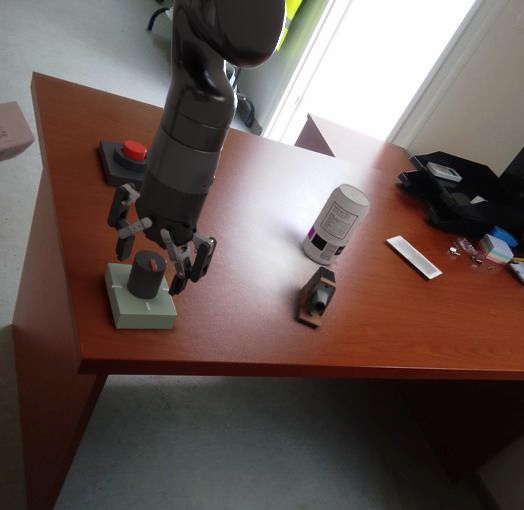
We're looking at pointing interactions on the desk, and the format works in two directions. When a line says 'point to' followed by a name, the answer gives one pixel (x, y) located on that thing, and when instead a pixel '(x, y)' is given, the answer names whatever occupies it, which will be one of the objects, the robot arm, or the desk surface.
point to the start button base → (121, 165)
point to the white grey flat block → (414, 257)
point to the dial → (146, 274)
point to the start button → (134, 150)
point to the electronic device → (316, 297)
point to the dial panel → (137, 302)
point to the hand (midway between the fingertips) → (148, 275)
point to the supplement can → (336, 224)
